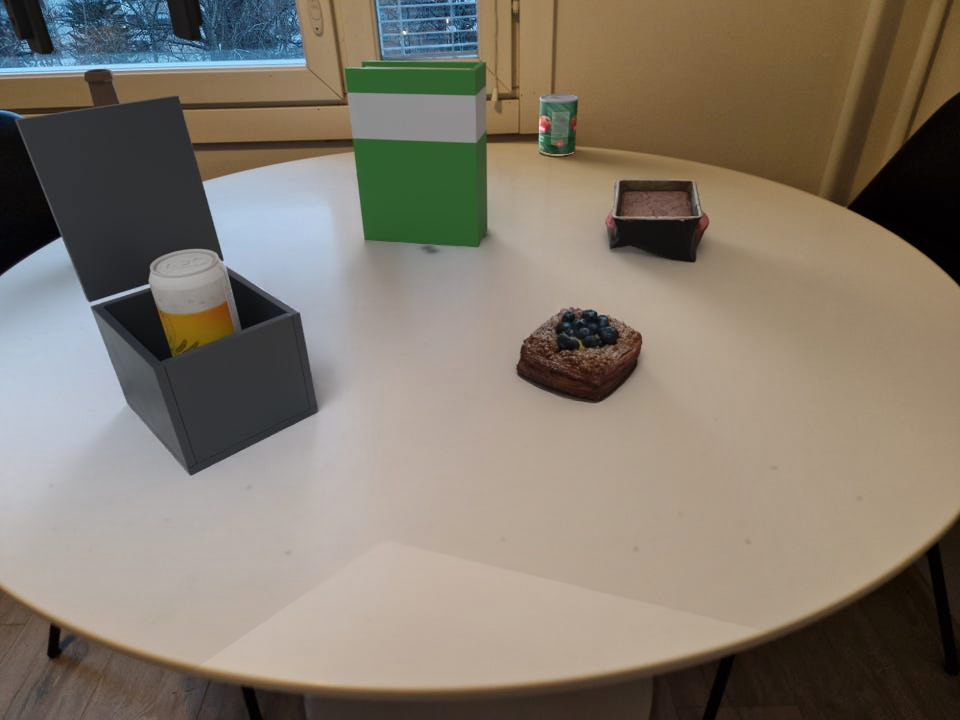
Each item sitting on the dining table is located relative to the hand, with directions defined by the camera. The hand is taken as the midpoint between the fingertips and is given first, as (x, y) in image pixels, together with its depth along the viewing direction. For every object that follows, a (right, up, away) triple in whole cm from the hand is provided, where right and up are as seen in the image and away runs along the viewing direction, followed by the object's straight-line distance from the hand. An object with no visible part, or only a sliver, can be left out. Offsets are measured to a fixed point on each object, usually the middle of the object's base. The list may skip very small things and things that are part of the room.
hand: (120, 45), depth 45 cm
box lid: (-6, -8, +12) cm, 16 cm away
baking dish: (+51, -5, +51) cm, 72 cm away
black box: (0, -26, +18) cm, 32 cm away
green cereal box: (+17, -2, +55) cm, 58 cm away
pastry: (+35, -23, +23) cm, 48 cm away
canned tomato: (+41, +23, +94) cm, 105 cm away
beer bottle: (-26, -3, +56) cm, 62 cm away
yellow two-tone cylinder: (+1, -26, +17) cm, 31 cm away
